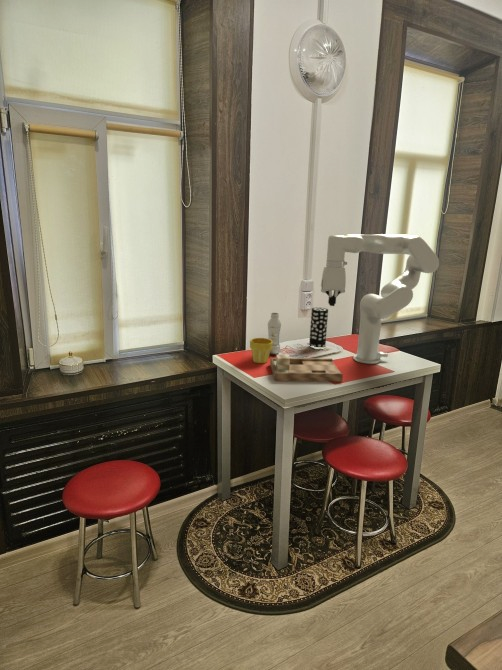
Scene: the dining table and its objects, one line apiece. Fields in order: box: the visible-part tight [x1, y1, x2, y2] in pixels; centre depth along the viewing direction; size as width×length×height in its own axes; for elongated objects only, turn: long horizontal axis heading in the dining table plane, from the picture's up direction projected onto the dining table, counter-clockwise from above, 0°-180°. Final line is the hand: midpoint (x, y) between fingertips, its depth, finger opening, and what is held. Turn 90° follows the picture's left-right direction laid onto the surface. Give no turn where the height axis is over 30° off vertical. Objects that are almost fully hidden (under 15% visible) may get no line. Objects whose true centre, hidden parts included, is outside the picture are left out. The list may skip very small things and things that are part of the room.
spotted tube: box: [308, 307, 329, 348], centre depth 223 cm, size 8×8×20 cm
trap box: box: [269, 357, 344, 382], centre depth 189 cm, size 28×19×3 cm
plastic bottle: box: [267, 312, 282, 355], centre depth 211 cm, size 6×7×20 cm
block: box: [275, 354, 291, 370], centre depth 187 cm, size 5×5×5 cm
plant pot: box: [249, 337, 273, 364], centre depth 201 cm, size 10×10×10 cm
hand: (331, 305), depth 196 cm, fingers closed
